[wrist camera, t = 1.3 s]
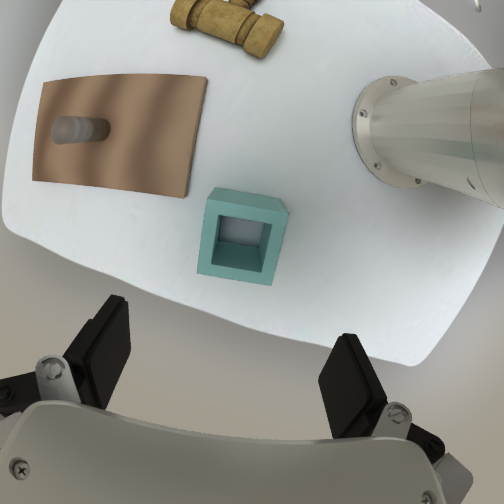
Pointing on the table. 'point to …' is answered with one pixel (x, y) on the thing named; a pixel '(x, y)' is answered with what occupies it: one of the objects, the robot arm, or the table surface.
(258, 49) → the gavel
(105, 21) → the table surface
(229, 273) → the collar
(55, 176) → the post stand
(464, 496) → the robot arm
